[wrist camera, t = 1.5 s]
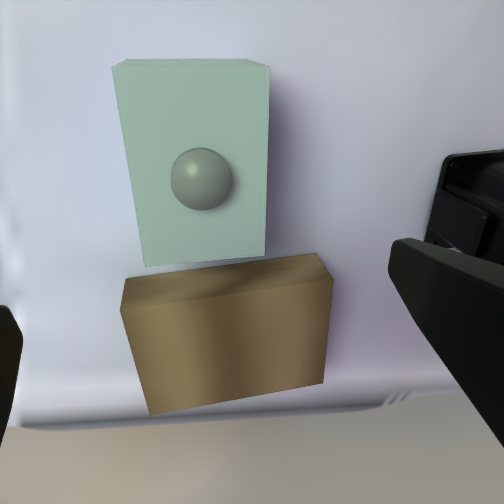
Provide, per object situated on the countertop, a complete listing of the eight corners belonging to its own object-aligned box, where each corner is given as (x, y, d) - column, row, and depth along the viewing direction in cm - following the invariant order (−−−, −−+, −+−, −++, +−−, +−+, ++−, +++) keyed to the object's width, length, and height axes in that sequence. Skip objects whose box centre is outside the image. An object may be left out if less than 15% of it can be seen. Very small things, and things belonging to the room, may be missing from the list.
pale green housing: (246, 59, 17) (274, 67, 13) (246, 212, 22) (267, 262, 17) (126, 59, 17) (108, 68, 12) (150, 219, 21) (143, 274, 16)
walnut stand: (315, 253, 24) (333, 279, 21) (309, 352, 28) (322, 383, 26) (125, 278, 22) (119, 310, 20) (151, 379, 27) (150, 415, 24)
